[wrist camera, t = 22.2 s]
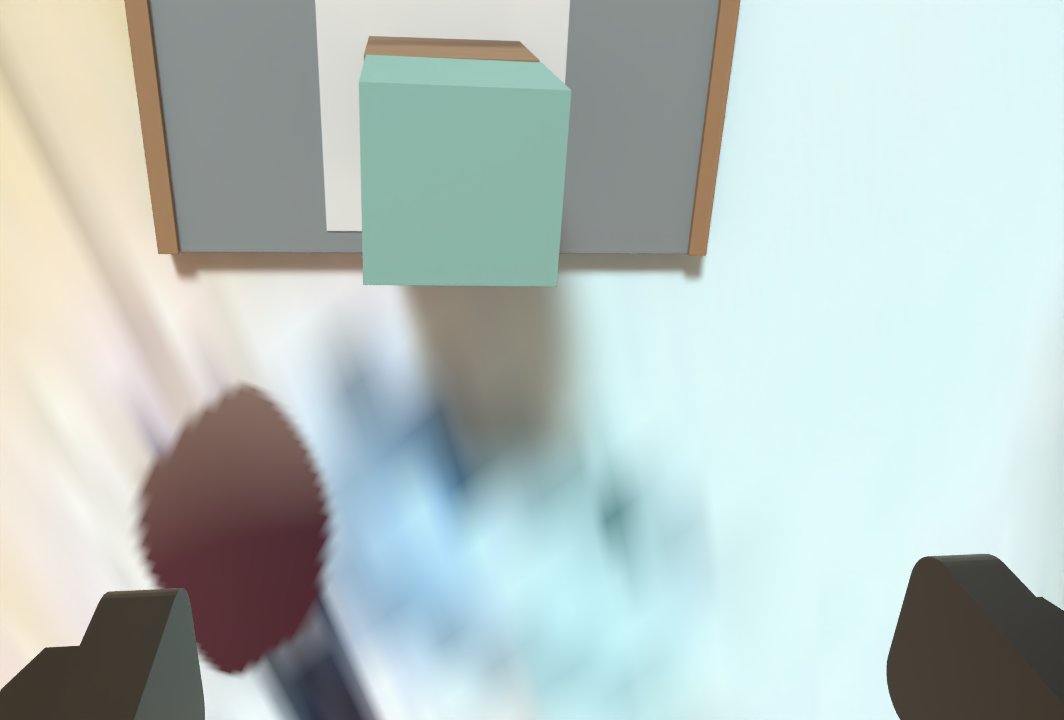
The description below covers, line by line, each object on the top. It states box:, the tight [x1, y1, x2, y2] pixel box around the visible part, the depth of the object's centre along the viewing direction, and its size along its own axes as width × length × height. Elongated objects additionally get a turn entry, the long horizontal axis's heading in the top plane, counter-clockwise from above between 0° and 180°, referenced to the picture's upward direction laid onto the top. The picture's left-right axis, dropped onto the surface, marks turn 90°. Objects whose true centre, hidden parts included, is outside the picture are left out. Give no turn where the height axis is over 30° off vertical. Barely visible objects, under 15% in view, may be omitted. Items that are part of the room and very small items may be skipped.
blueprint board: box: [124, 0, 740, 256], centre depth 38 cm, size 12×24×2 cm, turn 87°
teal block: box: [359, 55, 571, 287], centre depth 30 cm, size 6×6×6 cm
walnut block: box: [364, 36, 540, 62], centre depth 35 cm, size 6×6×6 cm
